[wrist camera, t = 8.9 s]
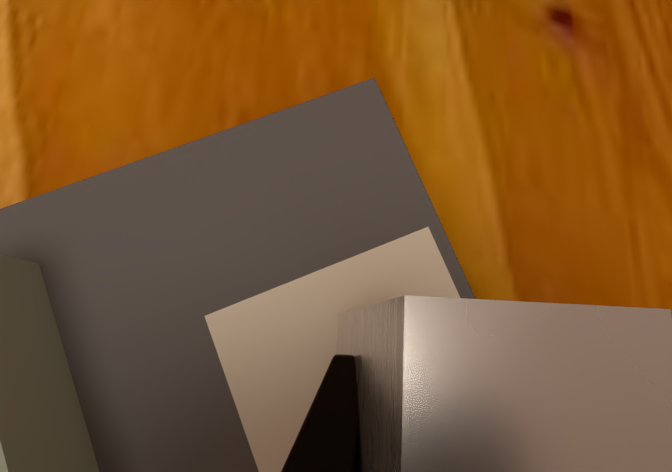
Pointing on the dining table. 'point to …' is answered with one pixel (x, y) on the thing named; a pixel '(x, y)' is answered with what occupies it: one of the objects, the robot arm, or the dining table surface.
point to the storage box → (36, 381)
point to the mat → (229, 278)
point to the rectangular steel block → (510, 386)
